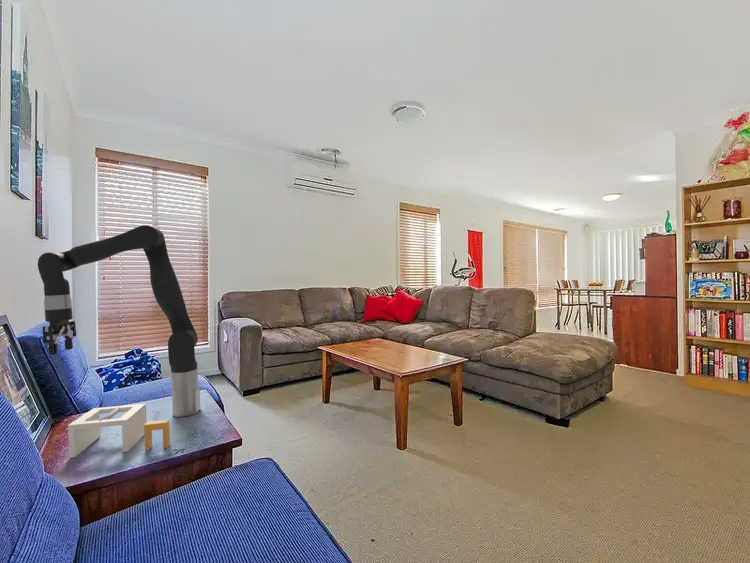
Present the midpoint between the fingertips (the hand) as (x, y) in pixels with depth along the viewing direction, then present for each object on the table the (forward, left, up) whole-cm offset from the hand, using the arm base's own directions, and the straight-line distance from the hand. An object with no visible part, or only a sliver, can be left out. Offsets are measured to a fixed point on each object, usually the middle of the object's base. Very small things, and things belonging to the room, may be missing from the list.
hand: (61, 351), depth 132 cm
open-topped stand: (-24, +20, -27) cm, 42 cm away
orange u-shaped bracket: (-40, +26, -28) cm, 55 cm away
